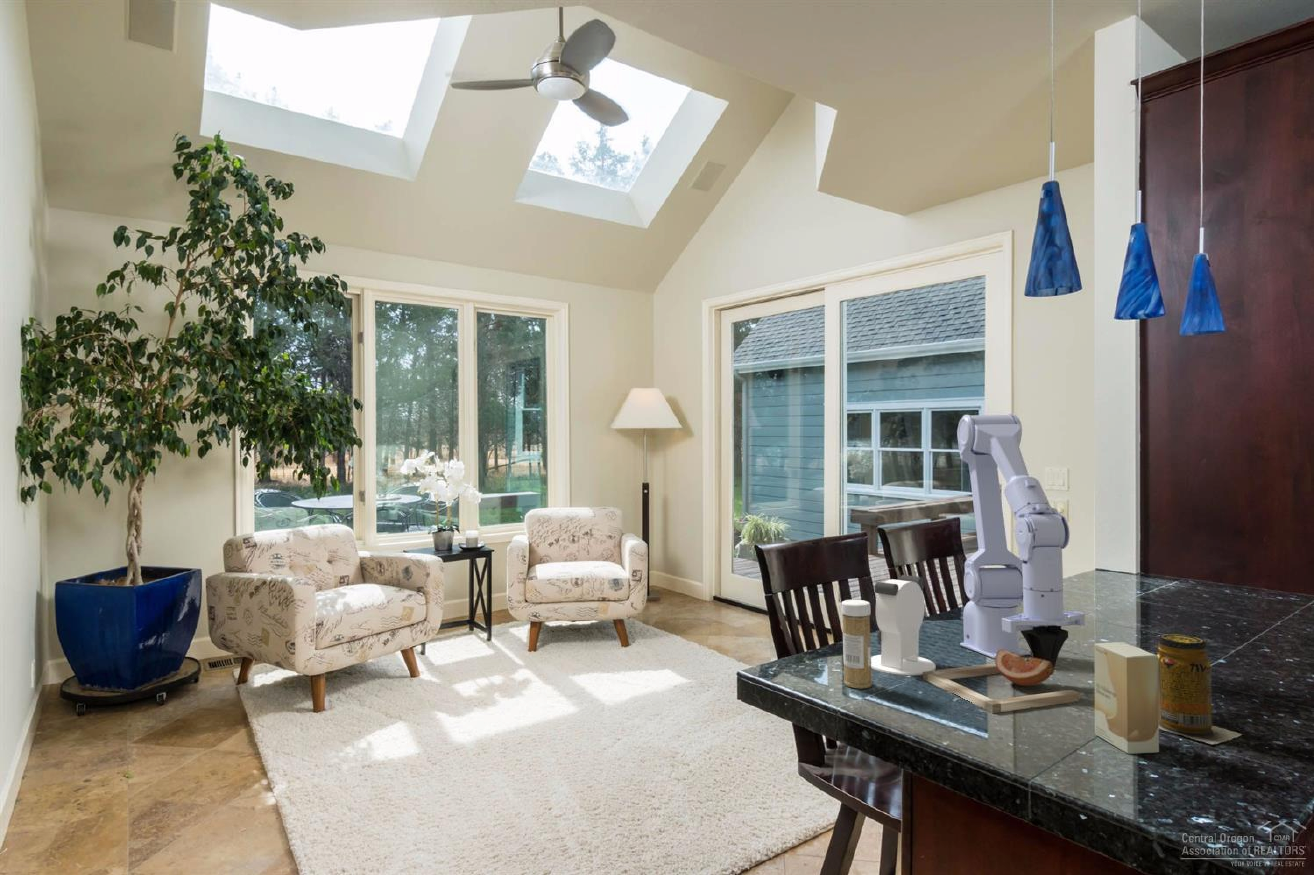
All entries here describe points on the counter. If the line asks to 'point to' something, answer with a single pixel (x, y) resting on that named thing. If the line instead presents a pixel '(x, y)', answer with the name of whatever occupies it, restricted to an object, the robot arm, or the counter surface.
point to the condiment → (1187, 690)
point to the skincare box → (1127, 697)
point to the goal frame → (993, 706)
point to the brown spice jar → (856, 643)
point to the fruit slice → (1022, 668)
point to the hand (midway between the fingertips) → (1045, 673)
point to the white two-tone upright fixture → (900, 626)
